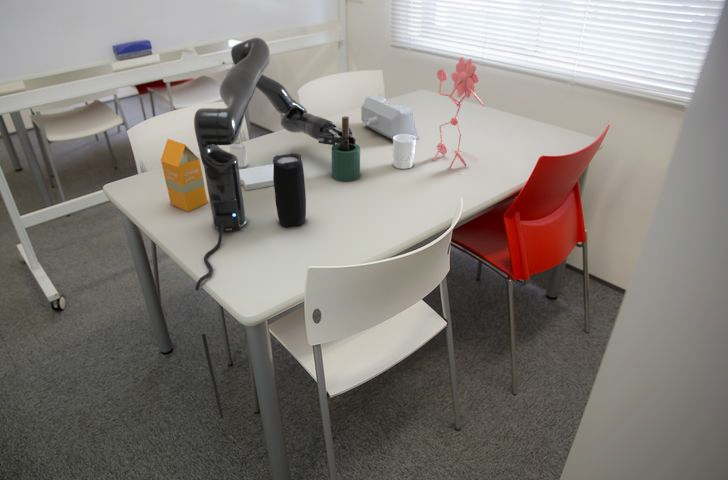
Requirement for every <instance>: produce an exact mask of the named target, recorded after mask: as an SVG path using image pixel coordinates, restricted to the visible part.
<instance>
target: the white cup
mask: <svg viewBox="0 0 728 480" xmlns="http://www.w3.org/2000/svg"><path fill="white" fill-rule="evenodd" d="M416 143H417V138H416V137H415V136H413V135H409V134H399V135H396V136H394V137H393V140H392V157H393V165H392V166H393V167H395V168H397V169H400V170H407V169H410V168H413V166H414V158H415V151H416Z"/></svg>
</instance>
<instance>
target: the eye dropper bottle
mask: <svg viewBox="0 0 728 480" xmlns="http://www.w3.org/2000/svg"><path fill="white" fill-rule="evenodd" d="M229 152H230V153H232V154H234V155H235V156H236V157H237V159H238V165H239V168H240V169H241V168H243V169H244V168H246V167H247V166H248V159H247V151H246V146H245V144H243V143H242V142H241V139H240V136H239V137H238V139H237V141H236V142H235V143H234V144H232V145H229Z"/></svg>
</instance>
